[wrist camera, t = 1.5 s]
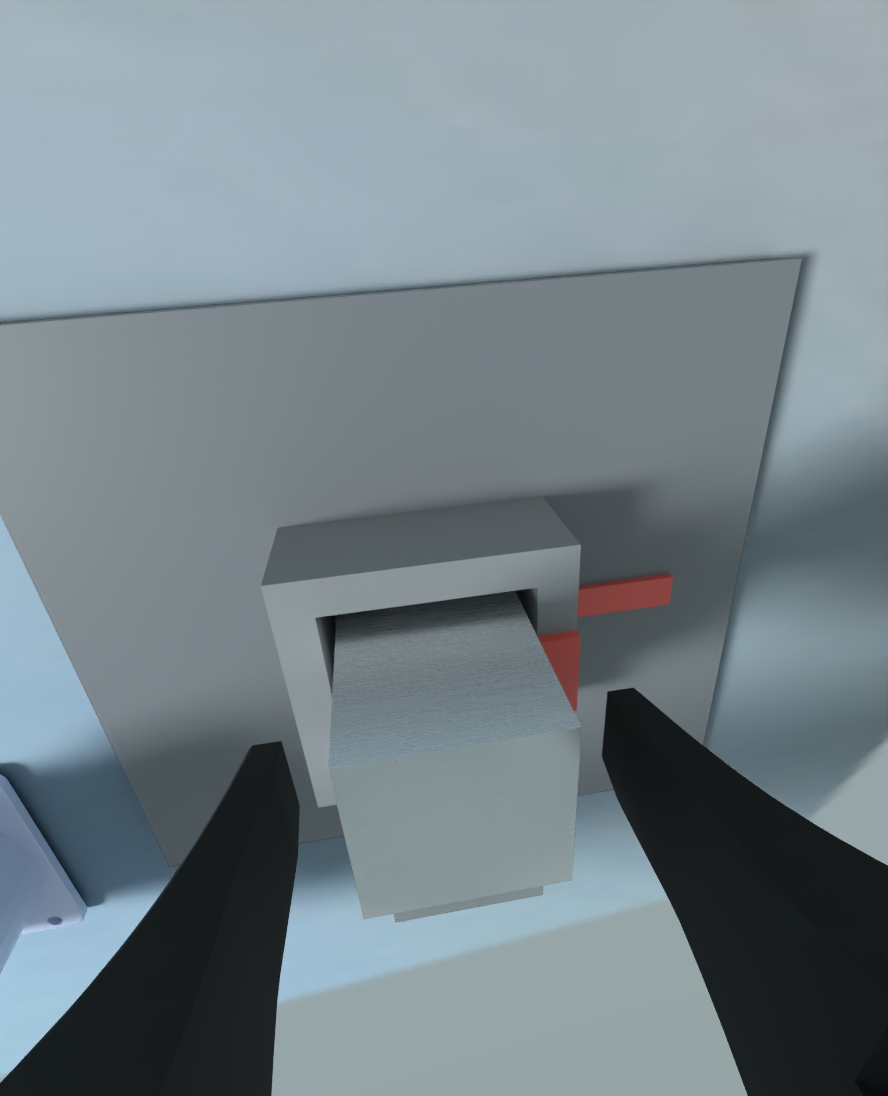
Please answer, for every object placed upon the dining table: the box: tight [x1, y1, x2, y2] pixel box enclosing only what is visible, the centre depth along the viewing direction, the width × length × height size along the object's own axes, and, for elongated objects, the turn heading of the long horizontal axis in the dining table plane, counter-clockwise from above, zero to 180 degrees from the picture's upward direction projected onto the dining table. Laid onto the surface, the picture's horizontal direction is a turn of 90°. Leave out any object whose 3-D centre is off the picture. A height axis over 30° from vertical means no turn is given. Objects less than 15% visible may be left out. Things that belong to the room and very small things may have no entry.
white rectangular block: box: [328, 591, 582, 923], centre depth 14 cm, size 5×5×7 cm
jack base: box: [0, 259, 802, 866], centre depth 16 cm, size 20×18×4 cm
